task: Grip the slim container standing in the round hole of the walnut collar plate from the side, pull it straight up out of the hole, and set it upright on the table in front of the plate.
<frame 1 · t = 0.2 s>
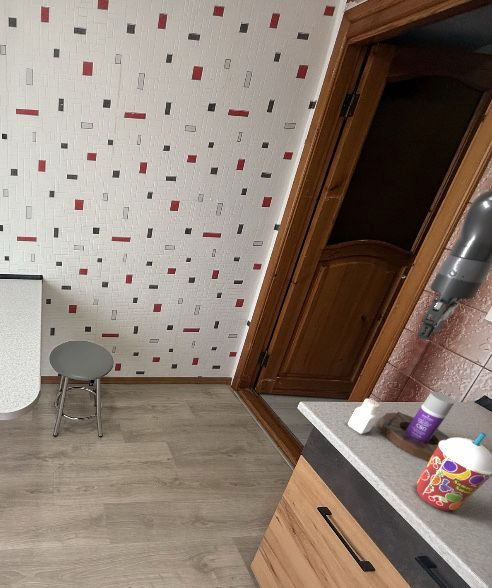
hand: (427, 334, 85), 30 cm above the kitchen counter, tool pointing down, fingers open, 8 cm apart
container: (414, 440, 92), resting in collar
smoothie: (433, 499, 75), on the kitchen counter
pepper shaker: (357, 428, 94), on the kitchen counter
collar: (414, 439, 92), on the kitchen counter
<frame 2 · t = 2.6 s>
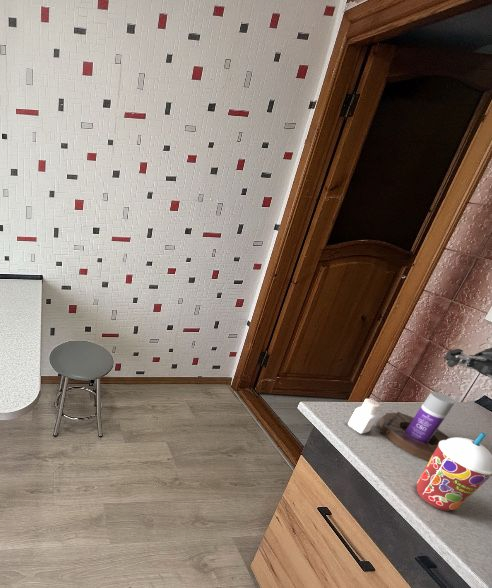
hand: (472, 373, 88), 20 cm above the kitchen counter, tool horizontal, fingers open, 8 cm apart
nothing on the kitchen counter moved.
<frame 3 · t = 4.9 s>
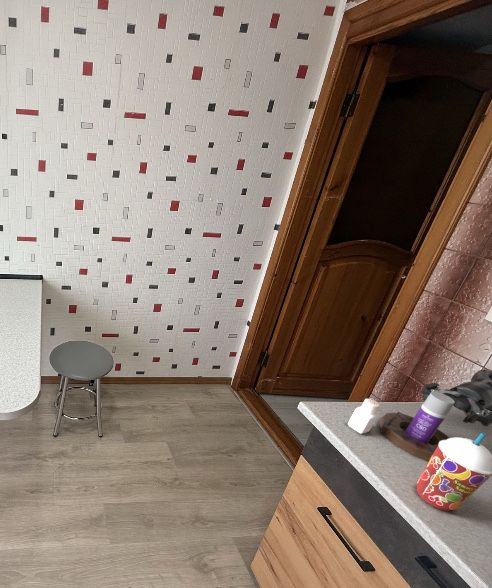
hand: (445, 408, 91), 9 cm above the kitchen counter, tool horizontal, fingers open, 8 cm apart
nothing on the kitchen counter moved.
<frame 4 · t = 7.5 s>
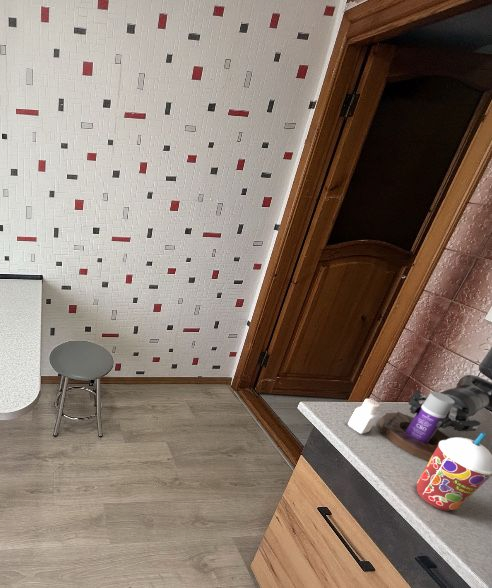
hand: (426, 417, 87), 9 cm above the kitchen counter, tool horizontal, fingers closed on container, 4 cm apart
container: (414, 440, 92), resting in collar, touching gripper
everything else where it was.
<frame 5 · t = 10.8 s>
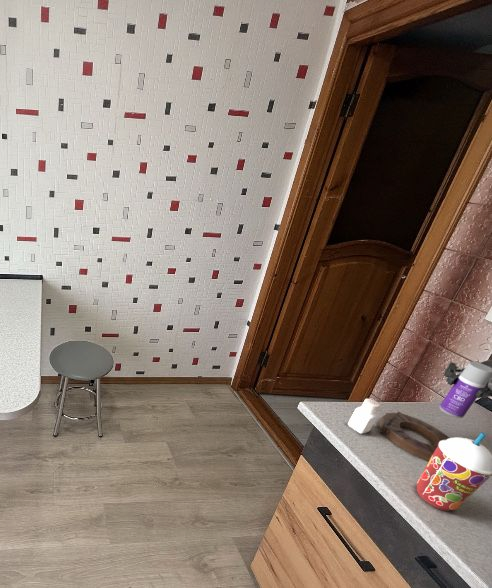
hand: (464, 387, 86), 18 cm above the kitchen counter, tool horizontal, fingers closed on container, 4 cm apart
container: (450, 412, 90), point 9 cm above the kitchen counter, touching gripper
everything else where it was.
when the fingers open (9 cm above the kitchen counter, at t = 14.2 s): container stays where it is, on the kitchen counter.
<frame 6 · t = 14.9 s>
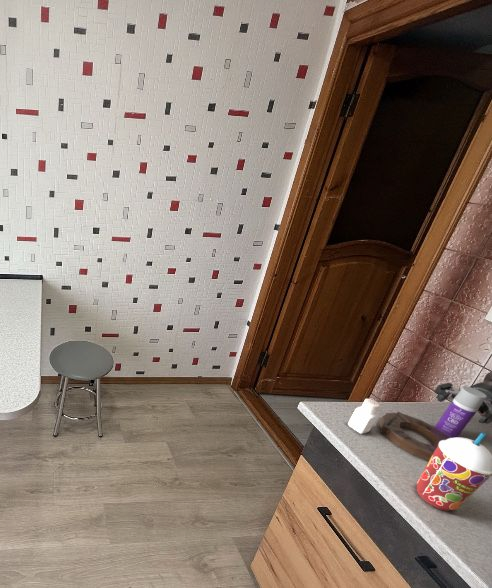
hand: (460, 408, 90), 10 cm above the kitchen counter, tool horizontal, fingers open, 8 cm apart
container: (444, 433, 95), on the kitchen counter
everything else where it was.
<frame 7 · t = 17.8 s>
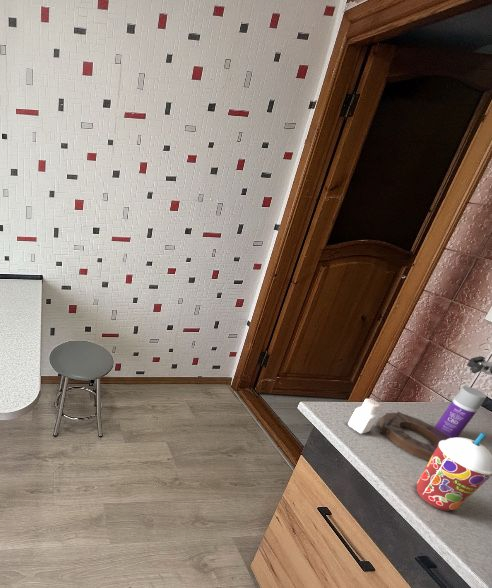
nothing on the kitchen counter moved.
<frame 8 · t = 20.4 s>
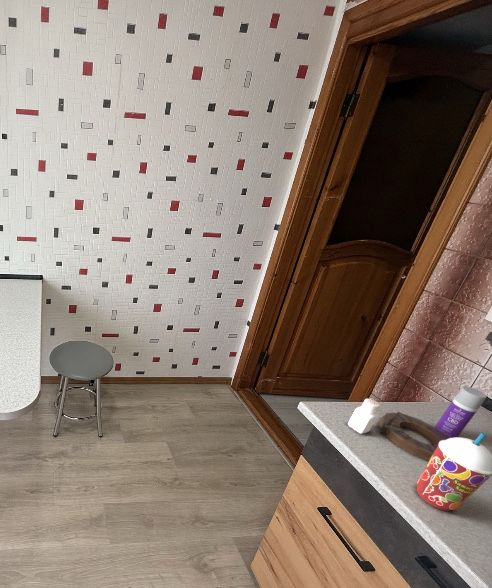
nothing on the kitchen counter moved.
at the end: container inside the target area (0.1 cm from its centre), on the kitchen counter; container tilted 0°; the gripper is holding nothing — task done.
